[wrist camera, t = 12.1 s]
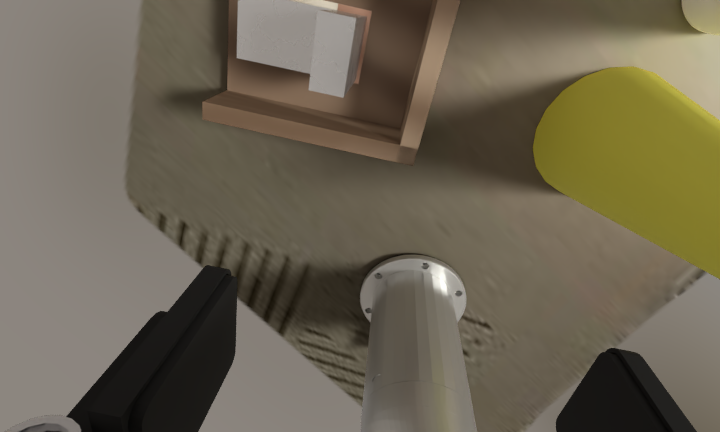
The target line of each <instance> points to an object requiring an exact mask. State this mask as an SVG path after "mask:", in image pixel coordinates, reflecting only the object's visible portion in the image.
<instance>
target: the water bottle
mask: <svg viewBox="0 0 720 432" xmlns="http://www.w3.org/2000/svg"><path fill="white" fill-rule="evenodd" d="M682 10H683V13H684V16H685V18H686V20H687V21H688V22H689V24H690V25H691V26H692V27H694V28H695V29H697V30H699V31H701V32H704V33H708V34H714V35H720V0H682Z"/></svg>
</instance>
